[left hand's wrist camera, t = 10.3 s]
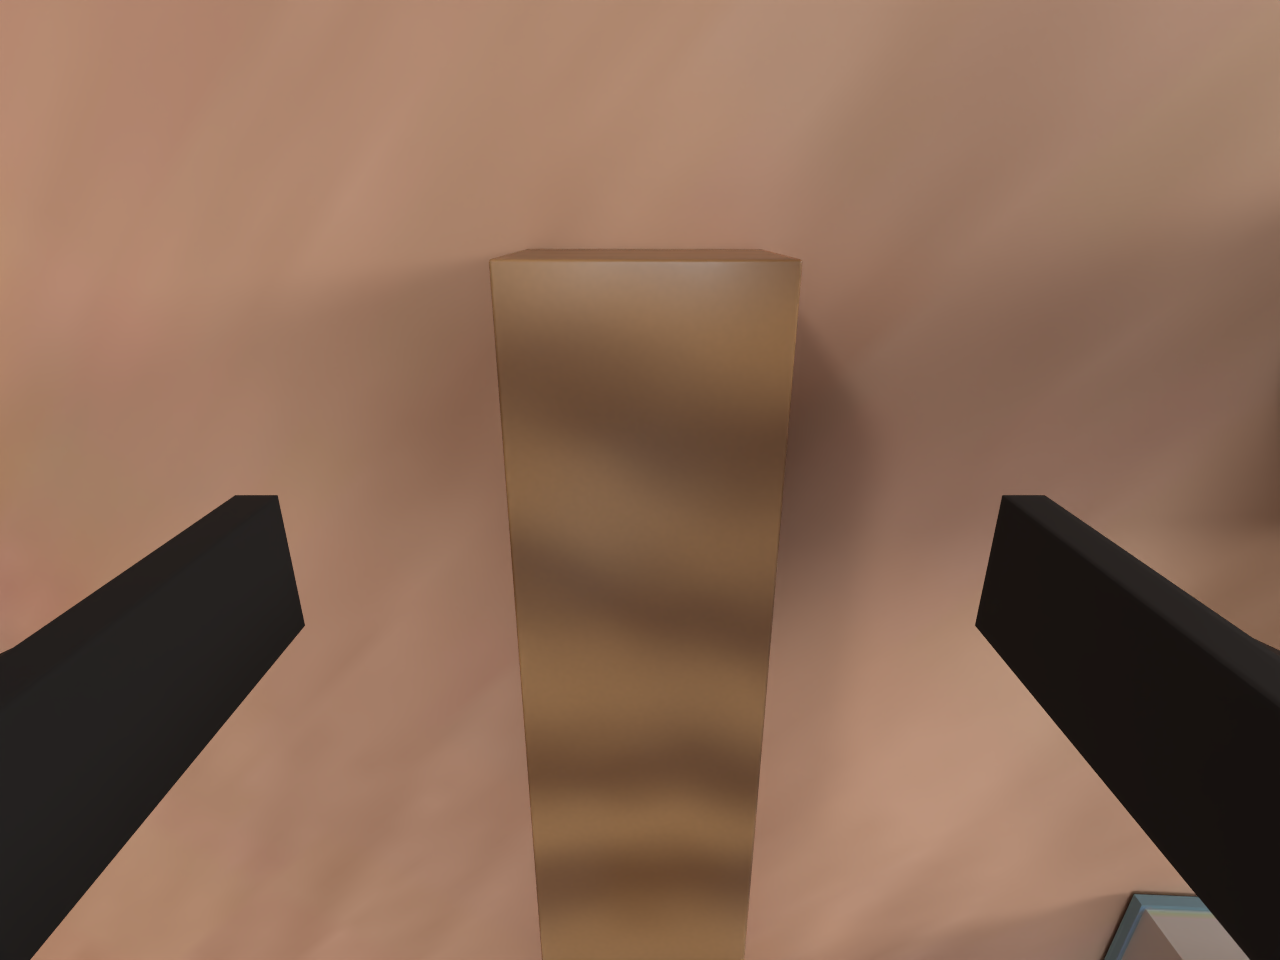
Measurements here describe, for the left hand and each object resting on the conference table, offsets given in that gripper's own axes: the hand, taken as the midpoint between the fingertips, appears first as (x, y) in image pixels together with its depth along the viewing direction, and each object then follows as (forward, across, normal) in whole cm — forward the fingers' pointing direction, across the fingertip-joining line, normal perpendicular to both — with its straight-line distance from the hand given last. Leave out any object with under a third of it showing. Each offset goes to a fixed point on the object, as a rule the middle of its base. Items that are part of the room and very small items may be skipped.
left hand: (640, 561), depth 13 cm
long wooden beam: (+19, 0, -31) cm, 36 cm away
